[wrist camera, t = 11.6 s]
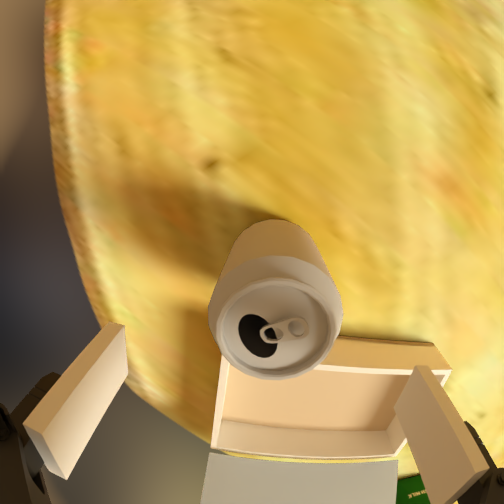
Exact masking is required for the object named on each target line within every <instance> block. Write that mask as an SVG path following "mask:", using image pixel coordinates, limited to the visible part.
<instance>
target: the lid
mask: <svg viewBox="0 0 504 504" xmlns="http://www.w3.org/2000/svg"><path fill="white" fill-rule="evenodd" d="M397 476H398V460H391V461H379V462H364V463H296V462H281V461H269V460H259V459H250V458H243V457H235V456H229V455H222V454H217V453H211V452H210V453H209V459H208V464H207V469H206V475H205V481H204V486H203V492H202V498H201V503H200V504H396V492H397Z"/></svg>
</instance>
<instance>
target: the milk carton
mask: <svg viewBox="0 0 504 504" xmlns="http://www.w3.org/2000/svg"><path fill="white" fill-rule="evenodd" d="M396 504H431V503H430V500H429V497H428V494H427V492H426V489H425V486H424V483H423V481H422V478H421V475H417V476H413V477H410V478H406V479H402V480H398V481H397V492H396Z"/></svg>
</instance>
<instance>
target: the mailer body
mask: <svg viewBox="0 0 504 504" xmlns="http://www.w3.org/2000/svg"><path fill="white" fill-rule="evenodd" d="M415 365H427V366H429V368H430V369H431V371H432V372H433V374H434V375H435V377H436V378H437V380H438V381H439V383H440V384H441V386H442V387H443V386H444V384H445V382H446V380H447V378H448V377H449V375H450V373H451V371H452V368H451V367H450V366H449V364H448V363H447V361H446V360H445V359H444V357H443V356H442V355H441V353H440V352H439V350H438V349H437V348H436V346H435V345H434V344H433V343H421V342H405V341H392V340H379V339H368V338H357V337H347V336H337V338H336V339H335V341H334V345H333V347H332V348H331V350H330V352H329V353H328V355H327V357H326V358H325V359H324V360H323V361H322V362H321V363H320V364H319V365H317V366H316V367H315V368H314V369H313V370H311V371H309V372H307V373H305V374H302V375H300V376H298V377H295V378H290V379H285V380H263V379H259V378H256V377H253V376H249V375H246V374H244V373H243V372H241V371H240V370H238V369H237V368H235V367H233V366H232V365H231V364H230V363H229V362H228V361H227V359H226V358H225V357H224V356H223V355H222V359H221V366H220V374H219V382H218V390H217V398H216V406H215V415H214V423H213V431H212V440H211V449H217V450H223V451H229V452H236V453H243V454H251V455H259V456H269V457H280V458H295V459H322V460H343V459H370V458H384V457H395V456H396V455H397V454H398V453H399V452H400V450H401V449H402V448H403V446H404V445H405V444H406V442H407V439H406V437H405V434H404V432H403V429H402V427H401V424H400V422H399V420H398V417H397V415H396V413H395V410H394V408H393V407H394V406H395V404H396V402H397V400H398V398H399V397H400V395H401V393H402V391H403V389H404V387H405V385H406V383H407V382H408V380H409V378H410V376H411V374H412V372H413V369H414V367H415Z"/></svg>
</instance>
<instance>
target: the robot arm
mask: <svg viewBox="0 0 504 504" xmlns="http://www.w3.org/2000/svg"><path fill="white" fill-rule="evenodd" d="M127 375H128V367H127V355H126V342H125V325H121V324H117V323H113V322H108V323H107V324H106V326H105V327H104V328H103V329H102V330H101V331H100V332H99V333H98V334H97V335H96V337H95V338H94V339H93V340H92V341H91V342H90V343H89V344H88V346H87V347H86V348H85V349H84V350H83V351H82V352H81V354H80V355H79V356H78V357H77V358H76V359H75V361H74V362H73V363H72V364H71V365H70V366H69V367H68V369H67V370H66V371H65V372H64V373H63V375H62V376H61V375H59V374H56V373H54V372H52V373H50V374H48V375H46V376H44V377H42V378H41V379H40V381H39V382H38V383H37V384H36V385H35V388H33V389H32V390H31V391H30V392H29V394H27V395H26V396H25V398H24V399H23V400H22V401H21V402H20V403H19V405H18V406H17V407H16V408H15V409H14V410H13V412H12V413H11V414H9V412H8V410H7V408H5V406H4V405H3V404H1V403H0V504H51V501H50V498H49V495H48V492H47V488H46V485H45V481H44V478H43V474H42V472H41V467H42V465H43V464H44V463H45V465H46V467H47V468H48V470H49V471H50V472H52V473H54V474H56V475H58V476H60V477H62V478H64V479H66V480H67V478H68V477H69V475H70V473H71V471H72V469H73V468H74V466H75V464H76V462H77V460H78V459H79V457H80V455H81V453H82V451H83V450H84V448H85V446H86V444H87V442H88V441H89V439H90V437H91V436H92V434H93V432H94V430H95V429H96V427H97V425H98V423H99V422H100V420H101V418H102V417H103V415H104V413H105V411H106V410H107V408H108V406H109V404H110V403H111V401H112V400H113V398H114V396H115V394H116V393H117V391H118V390H119V388H120V386H121V385H122V383H123V381H124V380H125V378H126V376H127ZM393 408H394V410H395V413H396V415H397V417H398V420H399V422H400V424H401V427H402V429H403V432H404V434H405V437H406V439H407V442H408V444H409V447H410V449H411V452H412V454H413V457H414V459H415V462H416V465H417V467H418V470H419V472H420V475H421V478H422V481H423V483H424V486H425V489H426V492H427V494H428V497H429V500H430V503H431V504H453V503H454V502H455V501H456V500H457V501H458V504H504V468H497V467H496V465H495V464H494V462H493V460H492V458H491V456H490V455H489V453H488V451H487V449H486V447H485V446H484V445H483V442H482V441H481V439H480V438H479V435H478V434H477V432H476V430H475V429H474V428H473V427H472V426H471V425H470V424H469V423H468V422H467V421H463V420H462V418H461V416H460V415H459V413H458V411H457V410H456V408H455V407H454V405H453V403H452V402H451V400H450V399H449V397H448V395H447V394H446V392H445V391H444V389H443V388H442V386H441V384H440V383H439V381H438V380H437V378H436V377H435V375H434V374H433V372H432V371H431V369H430V368H429V366H427V365H415V367H414V369H413V372H412V374H411V376H410V378H409V380H408V382H407V383H406V385H405V387H404V389H403V391H402V393H401V395H400V397H399V398H398V400H397V402H396V404H395V406H394V407H393Z"/></svg>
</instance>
